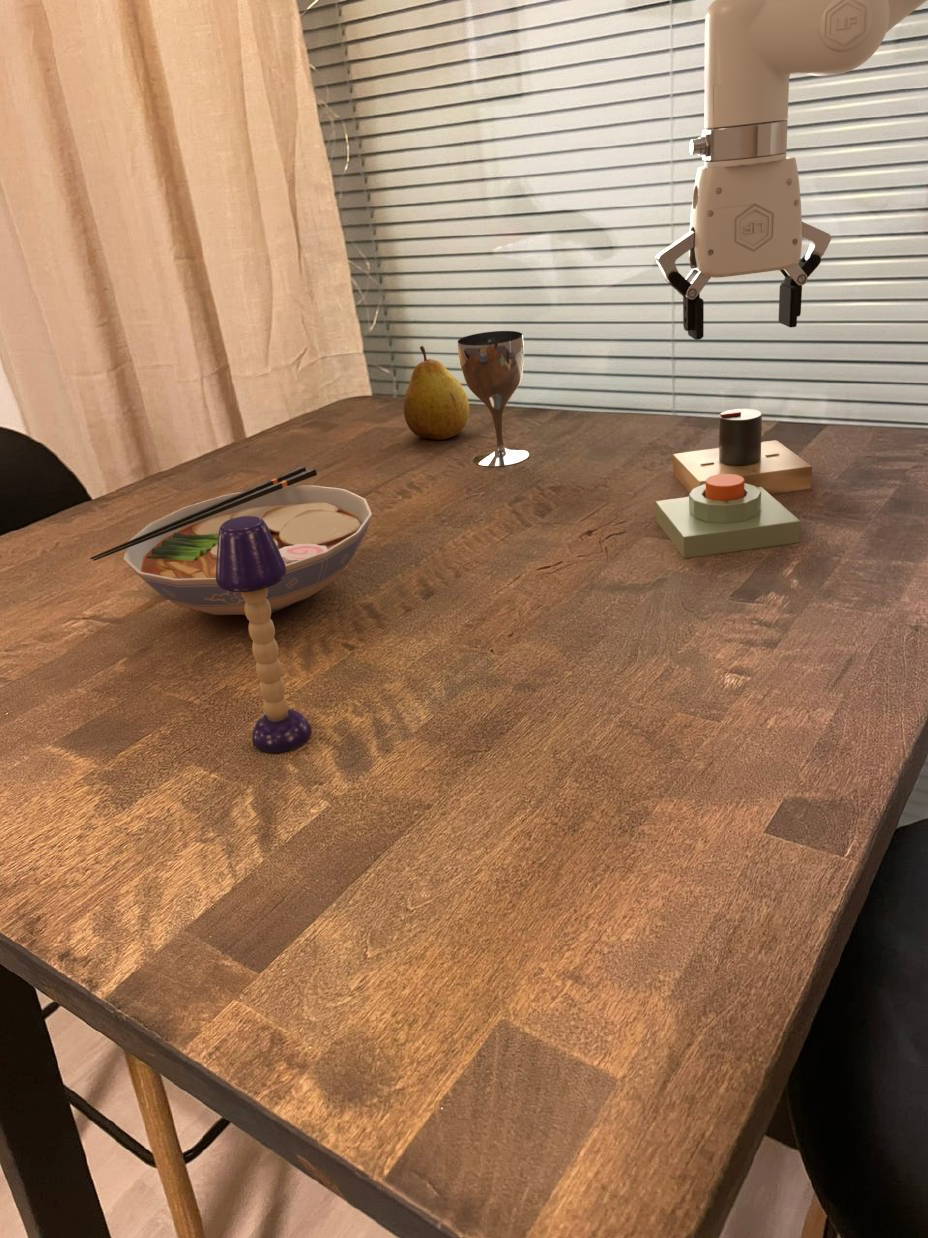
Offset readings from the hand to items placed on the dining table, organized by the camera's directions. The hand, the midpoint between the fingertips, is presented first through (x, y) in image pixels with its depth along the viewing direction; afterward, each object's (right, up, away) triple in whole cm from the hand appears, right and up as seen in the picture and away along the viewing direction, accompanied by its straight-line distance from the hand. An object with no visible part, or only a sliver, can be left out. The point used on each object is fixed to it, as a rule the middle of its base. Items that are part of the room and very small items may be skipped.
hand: (741, 330), depth 99 cm
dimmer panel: (+2, -14, +7) cm, 16 cm away
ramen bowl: (-47, -28, -7) cm, 55 cm away
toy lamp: (-41, -38, -29) cm, 63 cm away
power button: (-3, -18, -6) cm, 19 cm away
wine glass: (-24, -9, +25) cm, 35 cm away
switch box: (-3, -21, -4) cm, 22 cm away
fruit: (-32, -4, +37) cm, 49 cm away
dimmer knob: (+2, -12, +6) cm, 14 cm away
